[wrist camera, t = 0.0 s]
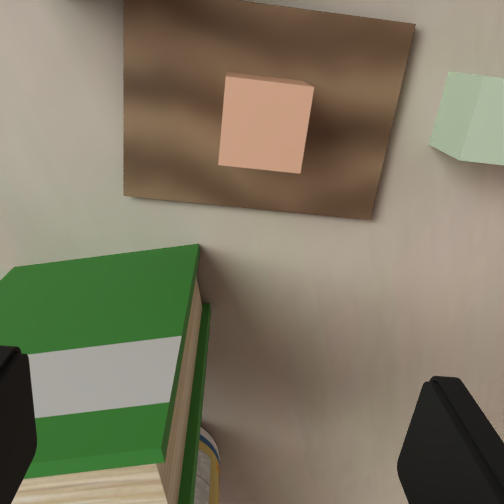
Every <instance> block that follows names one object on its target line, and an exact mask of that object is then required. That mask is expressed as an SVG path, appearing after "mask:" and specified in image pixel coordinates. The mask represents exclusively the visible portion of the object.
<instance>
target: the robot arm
mask: <svg viewBox="0 0 504 504" xmlns="http://www.w3.org/2000/svg"><path fill="white" fill-rule="evenodd" d="M36 448H37V433H36V423H35V413H34V404H33V394H32V384H31V374H30V365H29V357H28V355H27V354H24V353H21V349H20V348H19V347H17V346H3V345H0V504H11V503H12V501H13V499H14V497H15V495H16V493H17V491H18V489H19V487H20V485H21V483H22V481H23V479H24V477H25V475H26V473H27V470H28V468H29V466H30V464H31V462H32V460H33V458H34V456H35V453H36ZM397 471H398V476H399V479H400V482H401V484H402V487H403V489H404V492H405V495H406V497H407V500H408V503H409V504H504V443H503V441H502V440H501V438H500V437H499V435H498V434H497V432H496V431H495V430H494V428H493V427H492V425H491V424H490V422H489V421H488V419H487V418H486V416H485V415H484V413H483V412H482V410H481V409H480V407H479V406H478V404H477V403H476V402H475V400H474V399H473V397H472V396H471V394H470V393H469V391H468V390H467V388H466V387H465V385H464V384H463V382H462V381H461V380H460V379H459V378H456V377H442V376H433V377H432V378H431V379H430V381H429V382H425V383H424V384H423V386H422V389H421V392H420V395H419V398H418V401H417V404H416V407H415V410H414V413H413V416H412V419H411V422H410V425H409V428H408V431H407V434H406V437H405V440H404V443H403V446H402V449H401V452H400V455H399V458H398V462H397Z"/></svg>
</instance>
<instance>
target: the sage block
mask: <svg viewBox="0 0 504 504" xmlns="http://www.w3.org/2000/svg"><path fill="white" fill-rule="evenodd" d="M429 145H430V146H432V147H434V148H436V149H438V150H440V151H442V152H444V153H446V154H448V155H450V156H452V157H453V158H455V159H457V160H460V161H469V162H478V163H487V164H496V165H504V78H498V77H490V76H482V75H473V74H465V73H457V72H449V73H448V76H447V80H446V84H445V87H444V91H443V95H442V99H441V102H440V106H439V110H438V113H437V117H436V121H435V125H434V128H433V132H432V136H431V139H430V143H429Z"/></svg>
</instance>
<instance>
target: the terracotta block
mask: <svg viewBox="0 0 504 504" xmlns="http://www.w3.org/2000/svg"><path fill="white" fill-rule="evenodd" d="M313 92H314V87H313V86H311V85H310V84H308V83H306V82H304V81H299V80H291V79H283V78H275V77H266V76H258V75H250V74H241V73H233V72H227V74H226V79H225V91H224V103H223V114H222V126H221V138H220V150H219V161H218V165H222V166H232V167H241V168H251V169H260V170H270V171H279V172H289V173H298V174H300V173H301V167H302V161H303V155H304V148H305V142H306V136H307V130H308V123H309V117H310V111H311V105H312V98H313Z"/></svg>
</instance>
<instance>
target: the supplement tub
mask: <svg viewBox="0 0 504 504" xmlns="http://www.w3.org/2000/svg"><path fill="white" fill-rule="evenodd" d="M219 477H220V456H219V451H218V448H217V446H216V443H215V442H214V440H213V438H212V437H211V436H210V435H209V434H208V433H207V432H206V431H205V430H204V429H203V428H200V439H199V451H198V462H197V473H196V484H195V495H194V504H219Z"/></svg>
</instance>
